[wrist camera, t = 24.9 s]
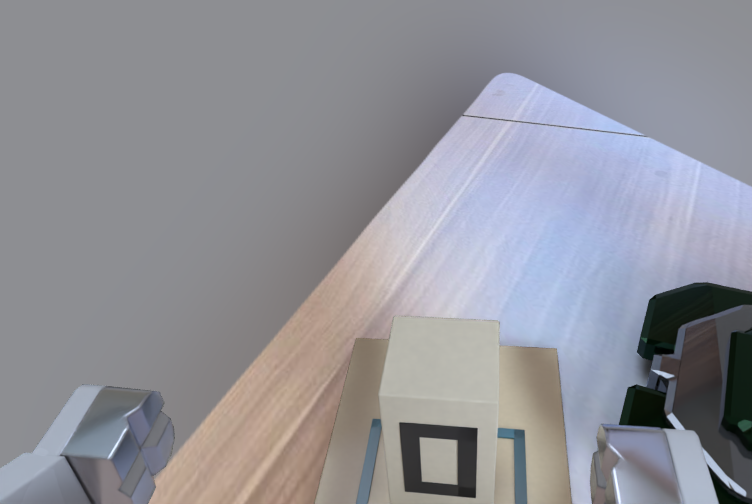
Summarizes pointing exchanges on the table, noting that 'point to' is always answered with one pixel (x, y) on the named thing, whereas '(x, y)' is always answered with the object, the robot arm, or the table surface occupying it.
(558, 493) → the word board
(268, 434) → the table surface
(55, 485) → the robot arm
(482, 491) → the letter block
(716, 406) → the four-lobed dark green device
